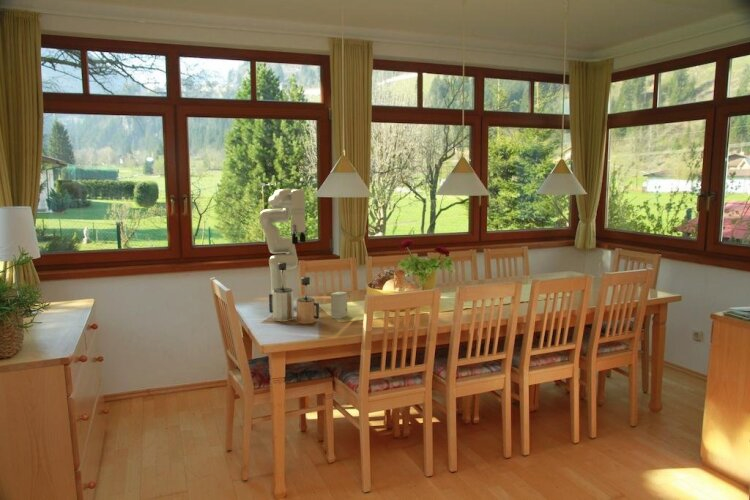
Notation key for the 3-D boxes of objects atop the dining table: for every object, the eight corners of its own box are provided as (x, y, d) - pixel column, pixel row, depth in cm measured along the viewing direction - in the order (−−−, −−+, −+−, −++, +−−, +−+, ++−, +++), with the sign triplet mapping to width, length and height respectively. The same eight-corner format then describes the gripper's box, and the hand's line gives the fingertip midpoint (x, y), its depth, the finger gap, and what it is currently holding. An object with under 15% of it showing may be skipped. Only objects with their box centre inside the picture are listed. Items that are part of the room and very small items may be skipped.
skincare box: (339, 321, 313) (339, 294, 311) (330, 319, 316) (330, 293, 314) (347, 317, 321) (347, 291, 319) (338, 316, 324) (338, 290, 321)
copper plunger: (302, 303, 309) (302, 276, 307) (313, 304, 308) (313, 276, 306) (298, 306, 303) (297, 278, 301) (309, 307, 302) (309, 279, 300)
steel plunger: (279, 294, 315) (278, 261, 312) (292, 295, 313) (291, 262, 310) (273, 297, 307) (272, 263, 305) (286, 298, 306) (286, 264, 303)
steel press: (274, 315, 319) (273, 286, 317) (296, 317, 316) (295, 288, 314) (265, 320, 308) (265, 290, 306) (288, 322, 305) (288, 292, 303)
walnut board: (273, 316, 322) (273, 314, 322) (324, 320, 315) (324, 318, 315) (260, 325, 305) (260, 322, 304) (313, 328, 298) (313, 326, 298)
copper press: (300, 319, 313) (300, 296, 311) (321, 320, 310) (321, 297, 308) (294, 323, 303) (294, 300, 302) (315, 325, 301) (315, 301, 299)
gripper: (298, 211, 322) (299, 241, 325) (284, 212, 306) (285, 244, 308) (311, 211, 320) (311, 241, 322) (297, 213, 304) (298, 245, 306)
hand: (298, 242), depth 315 cm, fingers open, 9 cm apart
